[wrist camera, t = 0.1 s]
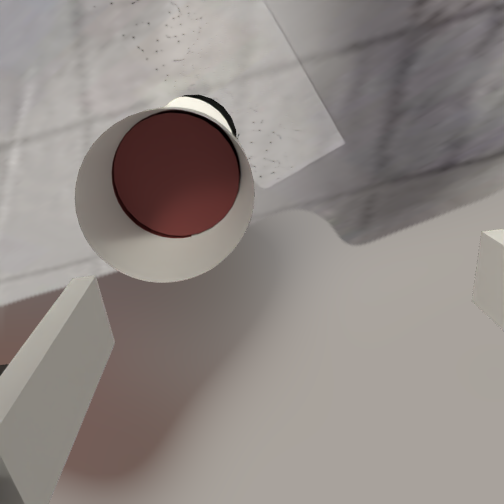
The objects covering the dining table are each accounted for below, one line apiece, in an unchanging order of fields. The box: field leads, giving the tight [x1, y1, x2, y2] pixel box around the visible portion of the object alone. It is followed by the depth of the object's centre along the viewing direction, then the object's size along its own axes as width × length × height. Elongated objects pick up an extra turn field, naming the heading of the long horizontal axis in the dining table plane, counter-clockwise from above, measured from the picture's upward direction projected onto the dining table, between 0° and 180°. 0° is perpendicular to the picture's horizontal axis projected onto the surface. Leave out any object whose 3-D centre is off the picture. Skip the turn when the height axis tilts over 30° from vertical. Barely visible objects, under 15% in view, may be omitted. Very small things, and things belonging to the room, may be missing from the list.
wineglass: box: [75, 95, 255, 283], centre depth 31 cm, size 9×10×22 cm
